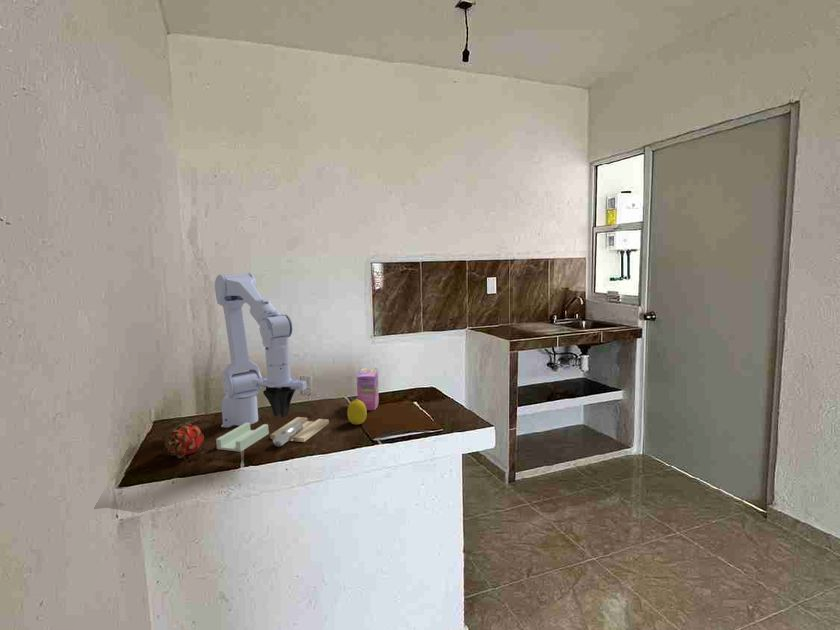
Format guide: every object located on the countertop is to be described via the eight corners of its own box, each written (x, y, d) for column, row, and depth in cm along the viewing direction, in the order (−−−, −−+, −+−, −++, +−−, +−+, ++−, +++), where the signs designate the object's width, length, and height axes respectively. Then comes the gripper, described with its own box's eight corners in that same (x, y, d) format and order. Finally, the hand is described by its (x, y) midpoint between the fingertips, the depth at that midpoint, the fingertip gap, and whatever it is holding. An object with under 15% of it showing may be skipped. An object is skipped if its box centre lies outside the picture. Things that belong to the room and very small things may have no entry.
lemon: (363, 430, 132) (362, 402, 131) (345, 429, 133) (343, 401, 132) (369, 423, 137) (368, 396, 136) (351, 422, 138) (350, 395, 137)
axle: (283, 447, 119) (283, 435, 118) (273, 445, 120) (272, 434, 119) (303, 432, 128) (302, 421, 128) (293, 431, 129) (292, 421, 129)
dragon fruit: (173, 473, 111) (190, 458, 123) (203, 449, 113) (217, 437, 124) (149, 445, 111) (169, 433, 123) (179, 422, 112) (196, 412, 124)
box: (376, 413, 146) (374, 376, 144) (357, 413, 146) (356, 376, 145) (379, 402, 156) (378, 367, 155) (362, 402, 156) (360, 368, 155)
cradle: (217, 452, 119) (216, 439, 118) (246, 434, 130) (245, 422, 130) (241, 455, 117) (240, 441, 116) (268, 436, 128) (268, 424, 128)
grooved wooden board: (270, 442, 125) (270, 434, 125) (298, 423, 138) (297, 416, 138) (304, 445, 122) (304, 438, 122) (329, 426, 135) (328, 419, 135)
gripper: (243, 365, 117) (247, 418, 119) (295, 368, 113) (298, 423, 115) (260, 359, 124) (263, 409, 125) (309, 362, 120) (312, 413, 121)
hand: (281, 415), depth 120 cm, fingers closed
